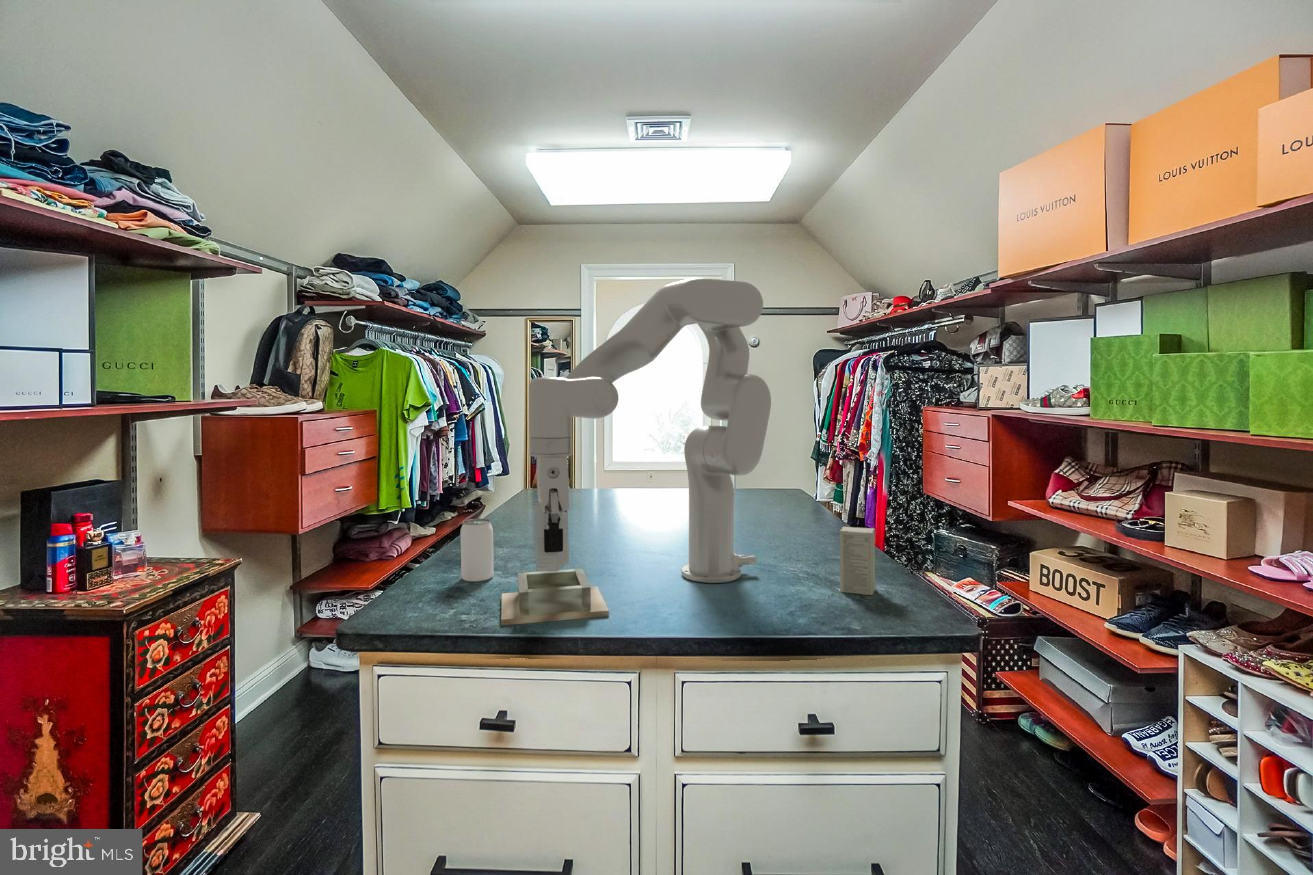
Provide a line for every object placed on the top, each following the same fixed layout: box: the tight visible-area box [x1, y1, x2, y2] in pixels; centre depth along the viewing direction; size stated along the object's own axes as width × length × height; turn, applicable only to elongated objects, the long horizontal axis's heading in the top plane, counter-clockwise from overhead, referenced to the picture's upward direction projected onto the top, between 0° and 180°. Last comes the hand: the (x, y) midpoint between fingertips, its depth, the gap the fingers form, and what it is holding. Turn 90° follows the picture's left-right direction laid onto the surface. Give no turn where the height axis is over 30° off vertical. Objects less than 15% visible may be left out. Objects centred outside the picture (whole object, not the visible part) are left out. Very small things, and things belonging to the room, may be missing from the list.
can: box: [460, 518, 495, 583], centre depth 129 cm, size 6×6×12 cm
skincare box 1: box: [534, 498, 570, 571], centre depth 110 cm, size 6×4×12 cm
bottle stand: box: [500, 568, 610, 626], centre depth 111 cm, size 18×14×5 cm
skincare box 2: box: [839, 526, 876, 596], centre depth 120 cm, size 6×4×12 cm
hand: (552, 545), depth 111 cm, fingers closed on skincare box 1, 7 cm apart
